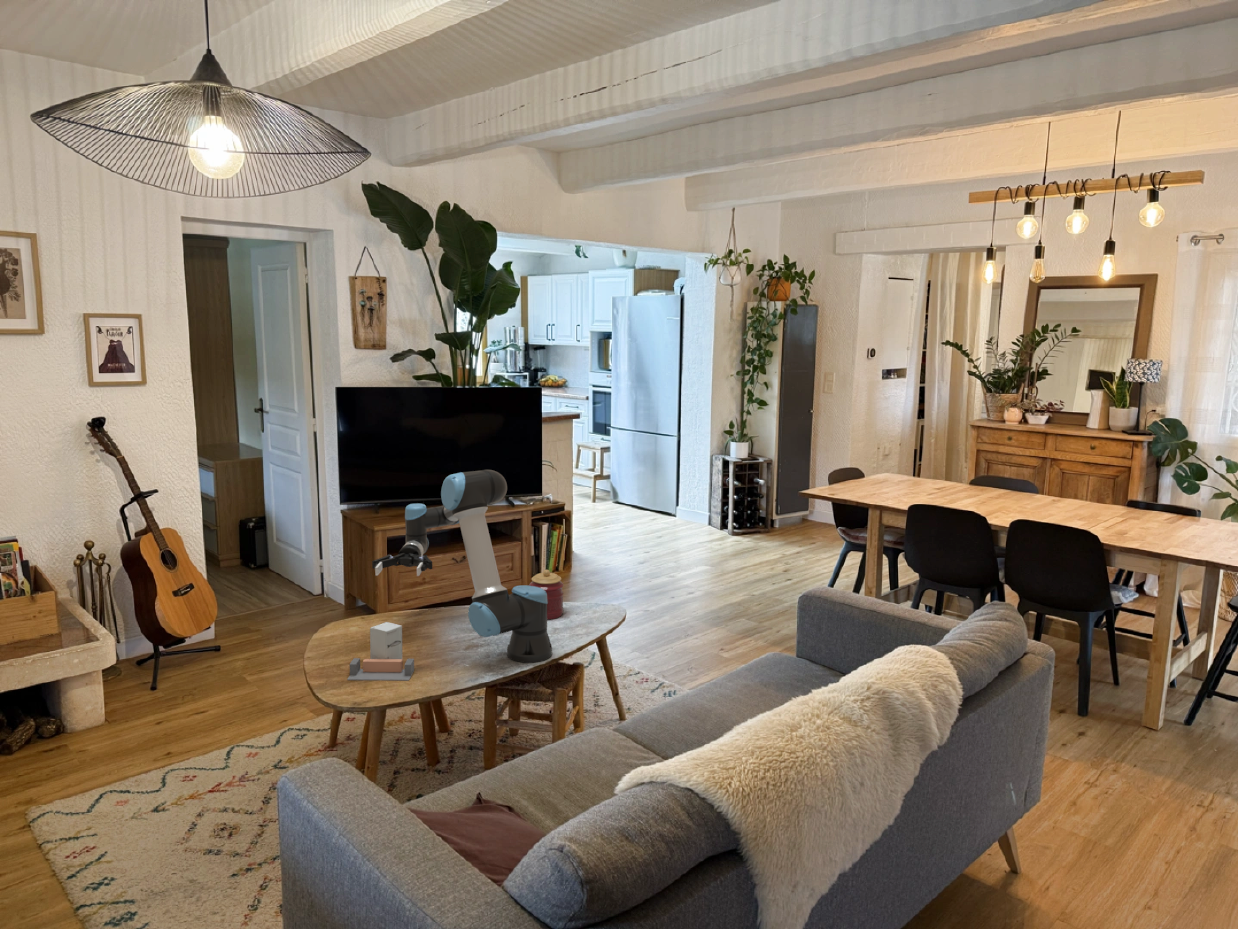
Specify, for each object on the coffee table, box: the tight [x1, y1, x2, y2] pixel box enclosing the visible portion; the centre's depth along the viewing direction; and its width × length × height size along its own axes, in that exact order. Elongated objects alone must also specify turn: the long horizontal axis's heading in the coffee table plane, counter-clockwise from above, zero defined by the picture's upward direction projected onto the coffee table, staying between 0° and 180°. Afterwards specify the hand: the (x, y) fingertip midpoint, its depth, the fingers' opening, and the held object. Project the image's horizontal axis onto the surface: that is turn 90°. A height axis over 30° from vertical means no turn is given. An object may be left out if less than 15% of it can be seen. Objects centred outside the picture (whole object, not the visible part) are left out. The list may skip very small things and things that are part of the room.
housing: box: [346, 657, 415, 681], centre depth 264 cm, size 8×19×4 cm, turn 92°
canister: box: [528, 569, 564, 620], centre depth 320 cm, size 13×13×18 cm
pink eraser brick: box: [362, 658, 404, 672], centre depth 266 cm, size 2×12×4 cm, turn 92°
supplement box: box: [369, 621, 403, 659], centre depth 272 cm, size 7×7×13 cm
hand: (397, 571), depth 278 cm, fingers open, 13 cm apart
